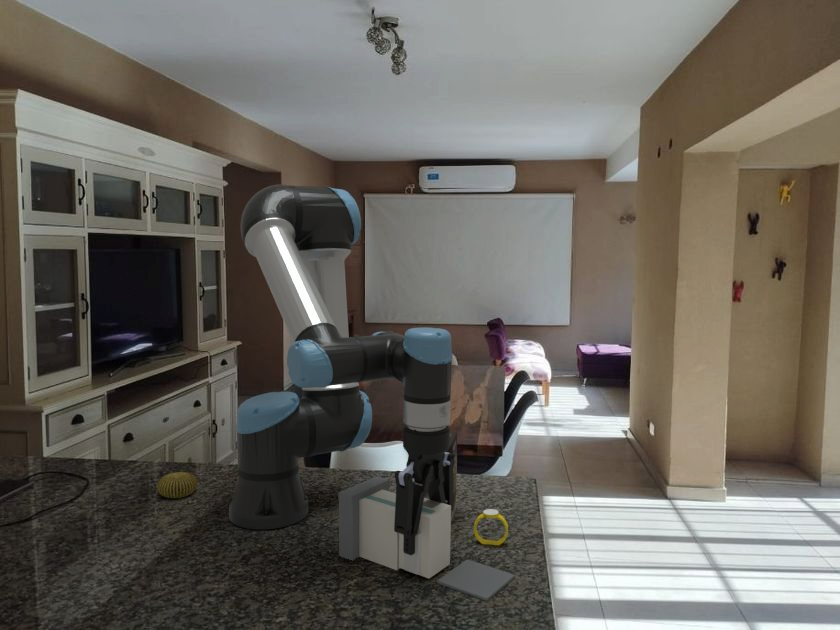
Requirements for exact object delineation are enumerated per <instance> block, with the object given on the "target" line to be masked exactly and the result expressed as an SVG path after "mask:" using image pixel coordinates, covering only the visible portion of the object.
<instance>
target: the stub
mask: <svg viewBox="0 0 840 630" xmlns="http://www.w3.org/2000/svg"><path fill="white" fill-rule="evenodd" d="M451 523H452V521H451V505H447V504H444V503H439V502H436V501H432V500H430V499H427V498H424V501H423V507H422V512H421V517H420V523H419V528H418V533H420V534H421V572H420V574H418V575H419V576H421V577H423V578H426V579H431V578H432V577H433V576H435V575H436V574H438V573H439V572H441V571H442V570H444V569H445V568H447V567H448V566H449V565H451V562H450V561H451V537H452V536H451V534H452V533H451V525H452V524H451ZM411 527H412V526H411ZM403 543H404V535H403V534H400V533H399V568H400V569H401V570H404V551H403V545H404V544H403ZM418 575H417V576H418Z"/></svg>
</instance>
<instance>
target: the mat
mask: <svg viewBox="0 0 840 630" xmlns="http://www.w3.org/2000/svg"><path fill="white" fill-rule="evenodd" d="M515 578H516V575H515V574H513V573H510V572H509V571H504V570H502V569H498V568H495V567H492V566H489V565H487V564H486V565H485V564H484V563H480V562H477V561H473V560H471V559H465V560H464V561H463V562H461V563H460V564H458V565H457V566H456V567H454V568H453V569H452V570H449V571H448V572H447V573H446V574H444V575H443V576H442V577H440V578H439V579H437V580H436V583H437V584H439V585H441V586H444V587H447V588H449V589H452V590H456V591H458V592H459V593H460V592H461V593H462V594H466V595H469V596H471V597H473V598H476V599H479V600H483V601H484V602H488V601H489V600H490V599H492V598H493V597H494V596H495V595H496V594H498V592H500V591H501V590H502V589H503V588H504V587H506V586H507V585H508V584H509V583H510V582H512V581H513V580H514V579H515Z"/></svg>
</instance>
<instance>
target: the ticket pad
mask: <svg viewBox="0 0 840 630" xmlns="http://www.w3.org/2000/svg"><path fill="white" fill-rule="evenodd" d="M337 495H338V557H341V558H343V559H346V560H348V559H349V560H348V561H351V560H352V561H351V562H353V561H355V560H357V559H358V558H363V559H364V560H366V561H367V560H368V561H371V562H374V563H375V564H378V565H381V566H385V567H386V568H390V569H392V570H394V571H399V570H400V569H401V568H399V533H397V532H395V531H394V523H395V504H396V492H393V491H390V479H388V478H385V477H381V476H377V475H376V476H373V477H371V478H369V479H367V480H365V481H362V482H359V483H357V484H355V485H353V486H349V487H347V488H346V489H343V490H340V491H339V492H338V494H337ZM356 558H357V559H356Z"/></svg>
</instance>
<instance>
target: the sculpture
mask: <svg viewBox="0 0 840 630" xmlns="http://www.w3.org/2000/svg"><path fill="white" fill-rule="evenodd" d="M158 480H159V481H158V483H157V485H156V489H157V492H158V494H159V495H161V497H164V498H167V499H178V498H179V499H181V498H185V497H187V496H189V495H192V494H193V493H195V491H196V489H197V488H198V487H197V486H198V479H197V477H196V476H195V475H193V474H192V473H190V472H187V471H185V472H184V471H177V472H176V471H175V472H172V473H168V474H166V475H164V476H162V477H161V478H160V479H158Z"/></svg>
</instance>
